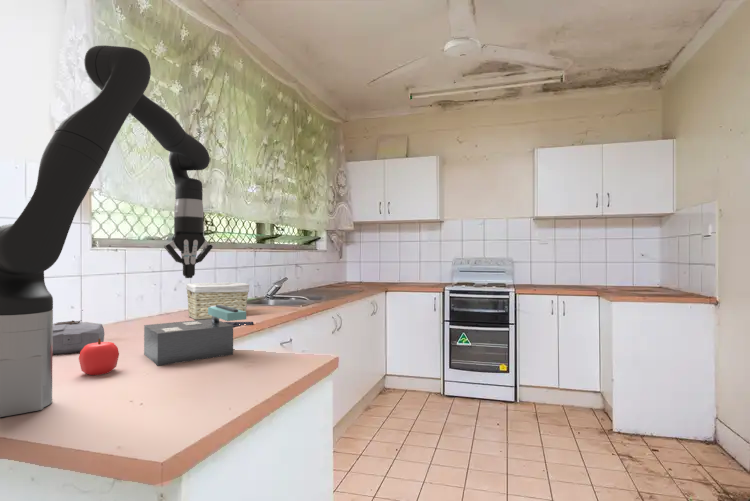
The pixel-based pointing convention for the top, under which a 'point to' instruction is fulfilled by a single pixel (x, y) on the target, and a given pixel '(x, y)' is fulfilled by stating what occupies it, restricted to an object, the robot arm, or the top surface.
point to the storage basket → (215, 297)
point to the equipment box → (187, 341)
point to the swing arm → (226, 313)
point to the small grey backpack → (75, 336)
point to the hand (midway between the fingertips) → (188, 277)
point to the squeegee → (239, 323)
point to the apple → (98, 358)
